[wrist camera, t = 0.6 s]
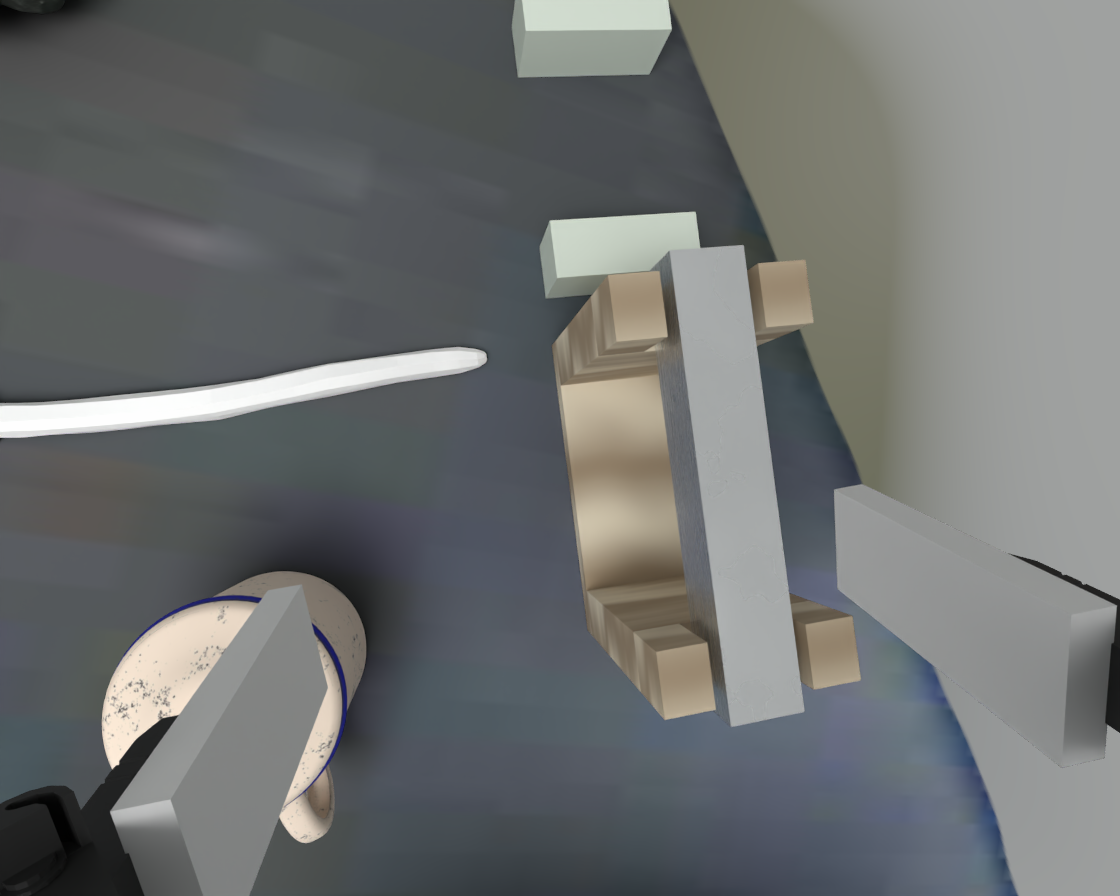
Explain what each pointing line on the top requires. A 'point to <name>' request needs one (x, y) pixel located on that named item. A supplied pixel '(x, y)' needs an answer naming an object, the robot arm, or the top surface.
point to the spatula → (230, 395)
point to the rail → (726, 484)
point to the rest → (598, 50)
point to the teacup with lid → (194, 648)
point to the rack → (659, 492)
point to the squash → (34, 5)
